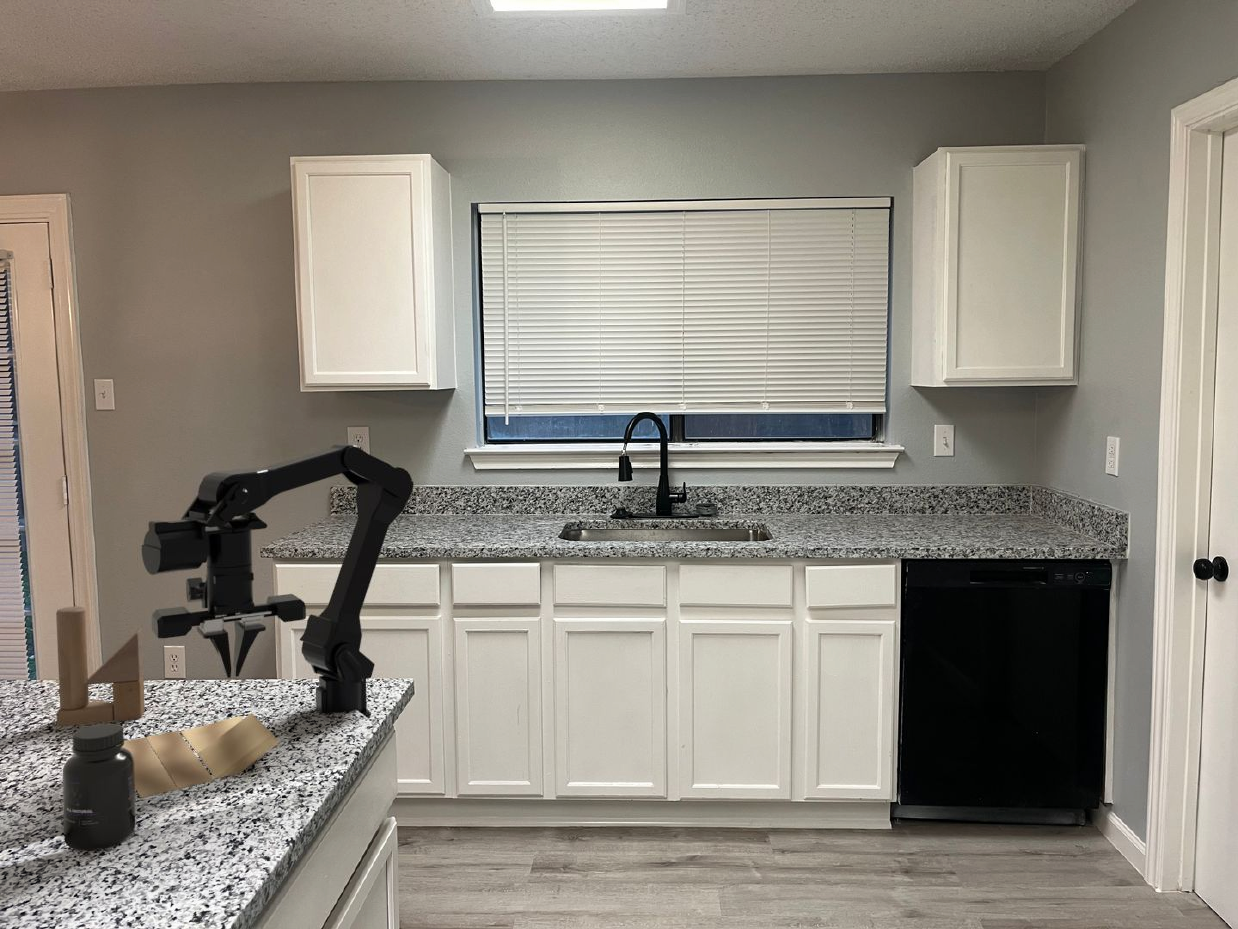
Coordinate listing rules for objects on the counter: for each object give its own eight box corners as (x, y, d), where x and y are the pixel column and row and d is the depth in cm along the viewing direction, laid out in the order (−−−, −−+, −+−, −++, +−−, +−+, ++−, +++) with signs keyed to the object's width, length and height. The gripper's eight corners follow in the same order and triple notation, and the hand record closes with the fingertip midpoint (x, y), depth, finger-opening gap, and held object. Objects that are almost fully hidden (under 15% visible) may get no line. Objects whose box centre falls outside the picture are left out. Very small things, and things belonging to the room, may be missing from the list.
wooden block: (141, 728, 130) (137, 607, 129) (56, 737, 127) (51, 612, 125) (145, 719, 134) (141, 601, 132) (63, 728, 130) (58, 607, 129)
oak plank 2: (257, 721, 122) (251, 713, 121) (278, 742, 114) (272, 733, 114) (203, 762, 118) (197, 753, 117) (222, 786, 110) (215, 778, 110)
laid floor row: (177, 741, 125) (177, 730, 125) (214, 792, 109) (214, 780, 109) (113, 754, 121) (112, 743, 120) (141, 810, 104) (140, 797, 104)
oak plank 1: (241, 726, 130) (240, 716, 130) (260, 746, 123) (259, 735, 122) (181, 741, 125) (180, 731, 125) (197, 763, 118) (196, 752, 118)
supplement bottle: (61, 858, 93) (57, 747, 92) (67, 830, 99) (63, 725, 98) (136, 843, 96) (132, 735, 96) (137, 817, 103) (133, 715, 102)
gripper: (284, 549, 133) (286, 652, 134) (143, 562, 122) (147, 673, 123) (306, 561, 124) (308, 670, 125) (156, 575, 113) (160, 695, 114)
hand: (232, 676), depth 122 cm, fingers closed
